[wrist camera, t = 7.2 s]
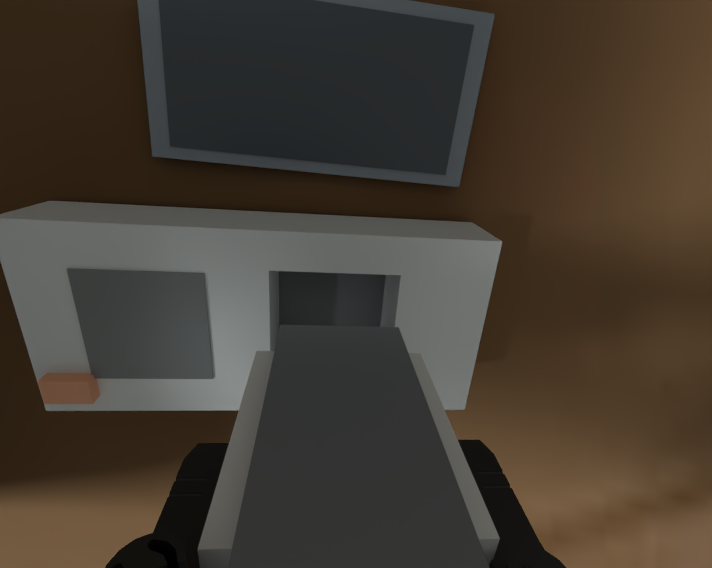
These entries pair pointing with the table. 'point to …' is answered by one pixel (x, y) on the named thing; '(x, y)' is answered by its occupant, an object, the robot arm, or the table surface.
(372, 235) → the power strip
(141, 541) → the robot arm
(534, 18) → the table surface
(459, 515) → the block
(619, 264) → the table surface
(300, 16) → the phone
